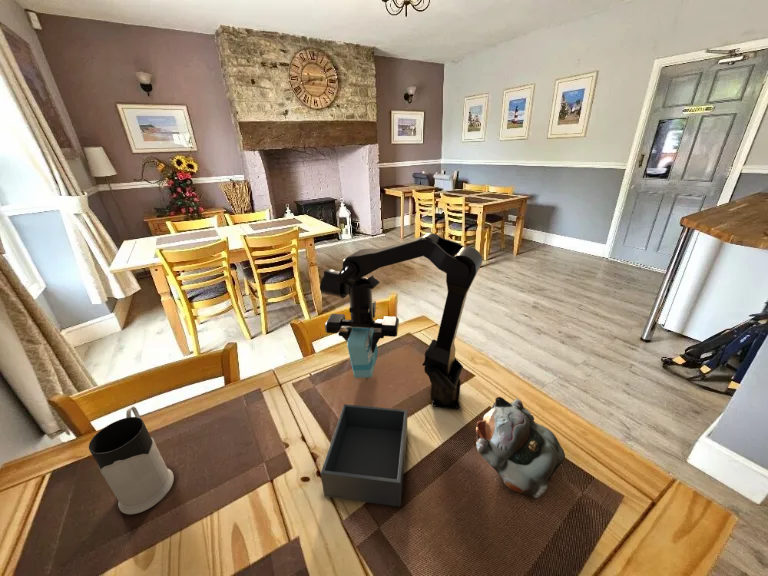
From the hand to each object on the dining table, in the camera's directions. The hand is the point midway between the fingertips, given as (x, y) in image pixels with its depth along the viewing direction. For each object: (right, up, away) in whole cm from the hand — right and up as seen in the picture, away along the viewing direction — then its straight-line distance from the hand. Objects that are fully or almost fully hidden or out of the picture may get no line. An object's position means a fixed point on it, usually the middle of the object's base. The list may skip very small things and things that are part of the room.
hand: (364, 351), depth 85 cm
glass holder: (-41, -21, -23) cm, 52 cm away
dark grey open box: (+3, -18, -21) cm, 28 cm away
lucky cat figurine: (+32, -18, -22) cm, 43 cm away
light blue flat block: (+1, -5, +2) cm, 5 cm away
